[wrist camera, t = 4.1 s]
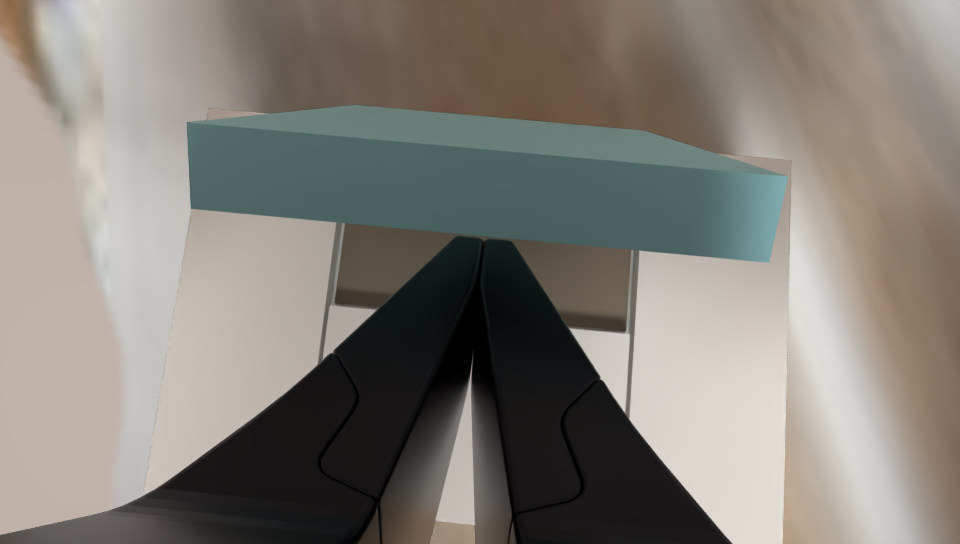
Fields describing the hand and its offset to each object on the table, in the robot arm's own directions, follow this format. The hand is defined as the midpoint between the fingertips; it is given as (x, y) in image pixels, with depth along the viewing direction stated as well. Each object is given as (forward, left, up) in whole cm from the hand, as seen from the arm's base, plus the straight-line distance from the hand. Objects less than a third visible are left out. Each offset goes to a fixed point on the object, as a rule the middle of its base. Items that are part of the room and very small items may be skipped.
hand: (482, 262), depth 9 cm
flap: (+4, +1, -5) cm, 7 cm away
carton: (0, 0, -8) cm, 8 cm away
